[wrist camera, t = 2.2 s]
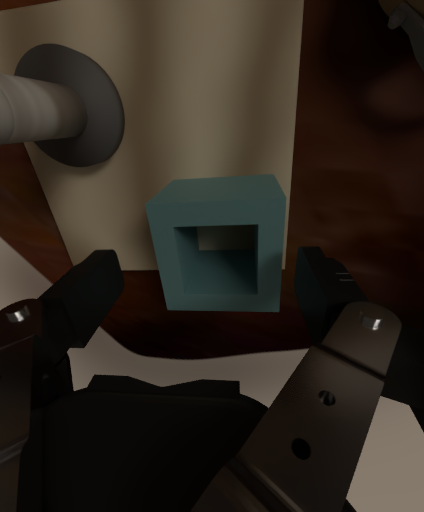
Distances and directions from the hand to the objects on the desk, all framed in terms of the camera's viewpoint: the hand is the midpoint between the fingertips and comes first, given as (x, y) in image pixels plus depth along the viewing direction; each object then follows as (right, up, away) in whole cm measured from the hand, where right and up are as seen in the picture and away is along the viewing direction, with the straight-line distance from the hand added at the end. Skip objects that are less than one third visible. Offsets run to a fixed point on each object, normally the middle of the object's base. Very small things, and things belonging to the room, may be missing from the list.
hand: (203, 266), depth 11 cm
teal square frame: (+1, +3, +5) cm, 6 cm away
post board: (-3, +7, +5) cm, 9 cm away
